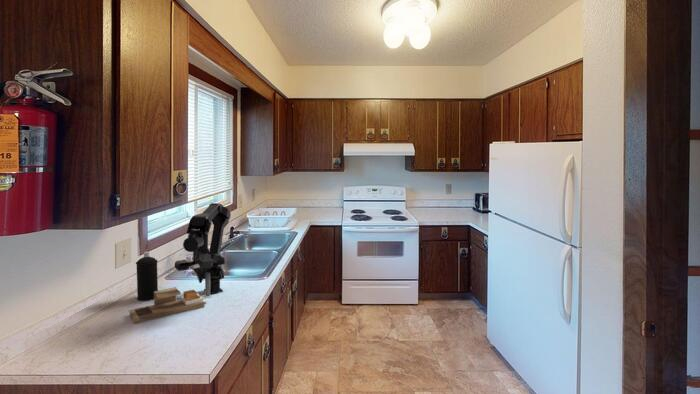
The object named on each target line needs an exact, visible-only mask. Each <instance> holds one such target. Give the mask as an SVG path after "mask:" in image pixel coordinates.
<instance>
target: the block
mask: <svg viewBox="0 0 700 394" xmlns="http://www.w3.org/2000/svg"><path fill="white" fill-rule="evenodd" d="M197 293H198V292H197V291H196V290H195V289H189V290H185V291H183V296H184V298H185V299H186V300H187V301H190V300H194V299H197Z"/></svg>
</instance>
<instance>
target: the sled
mask: <svg viewBox="0 0 700 394" xmlns="http://www.w3.org/2000/svg"><path fill="white" fill-rule="evenodd" d="M204 281H205V283H204V286H205V287H204V289H205V291H204V295H200V294H199V293H198V292H197V298H198V299H194V300H190V301H187V300H186V299H185V298H184V296H180V299H181V300H182V302H183V303H184V304H185V305H189V304H194V303H198V302H202V301H203V302H204V300H207V299H211V298H212V294H210V273H205V279H204Z"/></svg>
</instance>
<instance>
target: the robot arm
mask: <svg viewBox="0 0 700 394" xmlns="http://www.w3.org/2000/svg"><path fill="white" fill-rule="evenodd" d="M231 215H232V214H231V211H230V210H229V208H228V207H225V206H224V205H223V204H222V203H218V202H217V203H216V202H215V203H214V202H213V203H212V202H211V203H210V204H209V205H208V207H207V208H206V209H205V210H204V211H202V212H201V213H197V214H194V215H192V217H191V218H190V219H189V222H188V225H187V230H186V234H187V238H185V239H184V241H183V243H182V246H183V249H184V251H186V252H188V253H192V261H191V260H190V261H187V260H186V259H180V260H176V261H175V262H174V268H175V270H177V271H179V272H181V271H187V270H189V269H191V270H193V272H194V273H195V275H196V278H197V281H198V282H199V284H201V283H202V282H203V280H205V273H210V295H212V294H217V293H221V292H223V291H224V289H222V288H221V280H222V279H225V270H224V268H223V265H226V258H225V257H223V256H222V255H220V254H221V248H222V243H223V236H224V231H225V230H224V229H225V228H226V227H227V225H228V224H229V222H230V219H231ZM212 225H213V228H212V233H211V241H210V246H209V233H210V231H211V227H212ZM203 291H204V292H205V288H204V289H203Z"/></svg>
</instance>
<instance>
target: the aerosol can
mask: <svg viewBox="0 0 700 394" xmlns="http://www.w3.org/2000/svg"><path fill="white" fill-rule="evenodd" d="M158 262H159V261H158V259H156V258H155V257H153V256H150V251H145V252H143V257H141V258H139V259H138V260H137V261H136V262H135V265H136V287H137V288H136V291H137V292H136V293H137V297H136V300H138V301H139V302H148V301H152V300H153V301H154V291H159V285H158Z"/></svg>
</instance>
